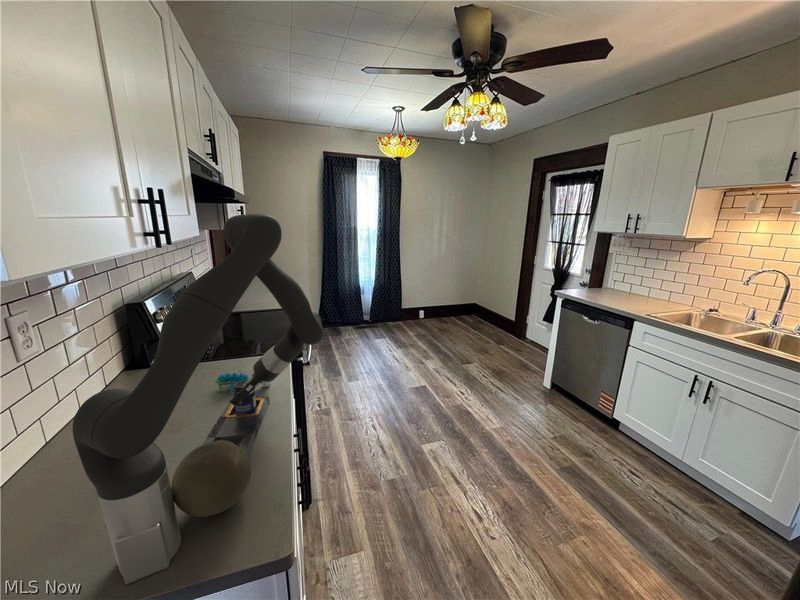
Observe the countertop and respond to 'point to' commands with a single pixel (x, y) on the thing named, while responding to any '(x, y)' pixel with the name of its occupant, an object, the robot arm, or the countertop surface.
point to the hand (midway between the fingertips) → (239, 395)
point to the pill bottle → (245, 401)
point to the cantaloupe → (211, 478)
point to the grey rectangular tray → (239, 425)
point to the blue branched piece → (230, 380)
